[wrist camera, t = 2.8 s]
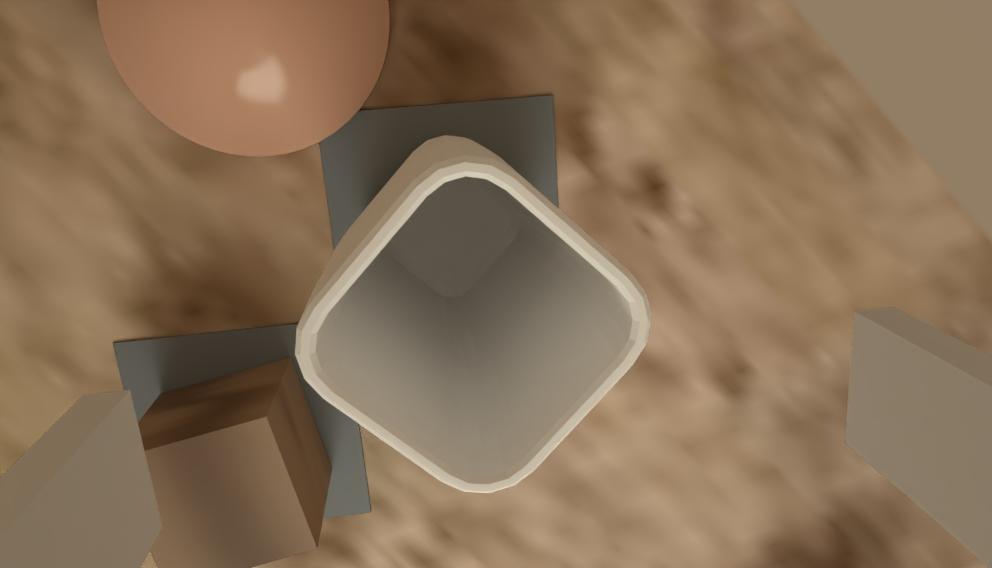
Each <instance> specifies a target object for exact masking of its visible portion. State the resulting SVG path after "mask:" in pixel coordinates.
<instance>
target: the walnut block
mask: <svg viewBox="0 0 992 568" xmlns="http://www.w3.org/2000/svg"><path fill="white" fill-rule="evenodd" d="M138 426H139V430H140V434H141V438H142V443H143V447H144V451H145V455H146V459H147V464H148V468H149V472H150V476H151V480H152V485H153V489H154V493H155V497H156V501H157V506H158V510H159V514H160V518H161V522H162V527H163V528H162V529H161V531H160V533H159V535H158V537H157V539H156V540H155V542H154V544H153V546H152V548H151V550H150V552H151V554H152V556H153V558H154V561H155V563H156V565H157V567H158V568H251V567H254V566H258V565H261V564H265V563H268V562H272V561H275V560H279V559H282V558H286V557H289V556H292V555H296V554H299V553H303V552H306V551H310V550H313V549H317V547H318V541H319V536H320V531H321V526H322V520H323V515H324V510H325V505H326V499H327V494H328V489H329V484H330V479H331V473H332V469H331V466H330V463H329V460H328V458H327V455H326V452H325V449H324V447H323V444H322V441H321V438H320V436H319V433H318V430H317V427H316V425H315V422H314V419H313V416H312V414H311V411H310V408H309V406H308V403H307V400H306V397H305V395H304V392H303V389H302V386H301V384H300V381H299V378H298V375H297V373H296V370H295V367H294V364H293V362H292V359H291V357H290V358H287V359H283V360H279V361H276V362H272V363H269V364H265V365H261V366H258V367H254V368H251V369H247V370H243V371H240V372H236V373H233V374H229V375H225V376H222V377H218V378H215V379H211V380H207V381H204V382H200V383H197V384H193V385H189V386H186V387H182V388H179V389H175V390H171V391H168V392H164V393H161V394H160V395H159V396H158V397H157V399H156V400H155V401H154V402H153V404H152V405H151V406H150V408H149V409H148V410H147V411H146V413H145V414H144V415H143V417H142V418H141V419H140V421H139V422H138Z"/></svg>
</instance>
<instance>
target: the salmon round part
mask: <svg viewBox="0 0 992 568" xmlns="http://www.w3.org/2000/svg"><path fill="white" fill-rule="evenodd" d="M97 8H98V14H99V21H100V26H101V30H102V33H103V37H104V40H105V44H106V46H107V49H108V51H109V53H110V56H111V58H112V61H113V63H114V65H115V66H116V68H117V70H118V72H119V73H120V75H121V77H122V79H123V80H124V82H125V83H126V85H127V86H128V87H129V89H130V90H131V91H132V93H133V94H134V95H135V97H136V98H137V99H138V100H139V101H140V102H141V103H142V104H143V105H144V106H145V108H146V109H147V110H148V111H149V112H150V113H152V114H153V115H154V116H155V117H156V118H157V119H159V120H160V121H161V122H162V123H163V124H165V125H166V126H168V127H169V128H171V129H172V130H174V131H175V132H177V133H178V134H179V135H181V136H183V137H185V138H187V139H189V140H191V141H193V142H195V143H197V144H199V145H202V146H205V147H207V148H210V149H213V150H216V151H220V152H224V153H229V154H233V155H242V156H251V157H256V156H274V155H281V154H287V153H291V152H294V151H298V150H301V149H304V148H307V147H309V146H311V145H313V144H316V143H318V142H320V141H322V140H323V139H325V138H327V137H328V136H330V135H332V134H333V133H335V132H336V131H337V130H338V129H340V128H341V127H342V126H343V125H344V124H346V123H347V122H348V121H349V120H350V119H351V118H352V117H353V116H354V115H355V114H356V113H357V112H358V111H359V109H360V108H361V107H362V106H363V104H364V103H365V101H366V100H367V98H368V97H369V96H370V94H371V92H372V90H373V88H374V86H375V84H376V83H377V81H378V79H379V76H380V73H381V70H382V68H383V65H384V62H385V58H386V53H387V48H388V43H389V31H390V13H389V2H388V0H97Z"/></svg>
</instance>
